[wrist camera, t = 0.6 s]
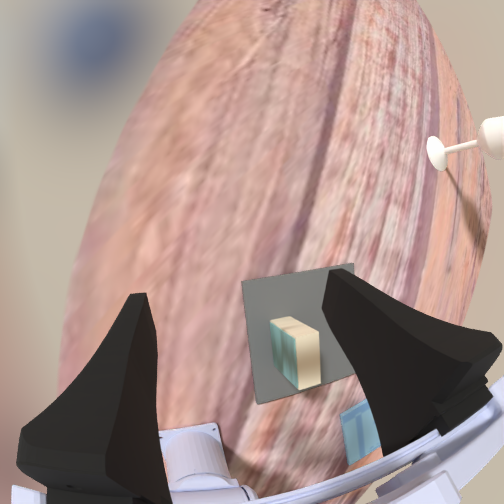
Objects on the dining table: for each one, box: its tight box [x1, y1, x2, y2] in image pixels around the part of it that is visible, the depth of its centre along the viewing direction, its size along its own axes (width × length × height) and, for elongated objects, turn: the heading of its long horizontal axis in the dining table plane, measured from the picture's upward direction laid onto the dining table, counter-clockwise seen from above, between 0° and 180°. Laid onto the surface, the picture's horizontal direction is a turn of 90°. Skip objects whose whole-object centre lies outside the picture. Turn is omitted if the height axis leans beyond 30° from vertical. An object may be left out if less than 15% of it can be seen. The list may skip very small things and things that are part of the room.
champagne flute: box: [427, 116, 504, 171], centre depth 32 cm, size 7×7×24 cm
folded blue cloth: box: [340, 399, 381, 466], centre depth 40 cm, size 14×12×1 cm
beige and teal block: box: [270, 316, 321, 390], centre depth 31 cm, size 6×3×7 cm, turn 7°
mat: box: [241, 263, 355, 404], centre depth 35 cm, size 16×15×1 cm
